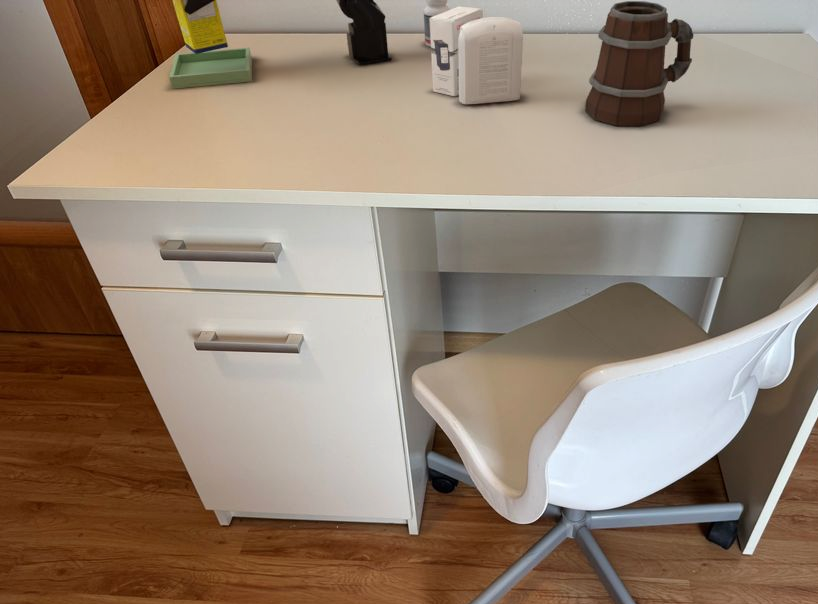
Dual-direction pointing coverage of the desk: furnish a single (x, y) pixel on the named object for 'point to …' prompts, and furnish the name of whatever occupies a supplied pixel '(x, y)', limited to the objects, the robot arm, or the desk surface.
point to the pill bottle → (435, 7)
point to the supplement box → (201, 27)
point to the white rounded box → (490, 60)
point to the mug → (636, 64)
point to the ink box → (448, 47)
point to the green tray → (211, 68)
